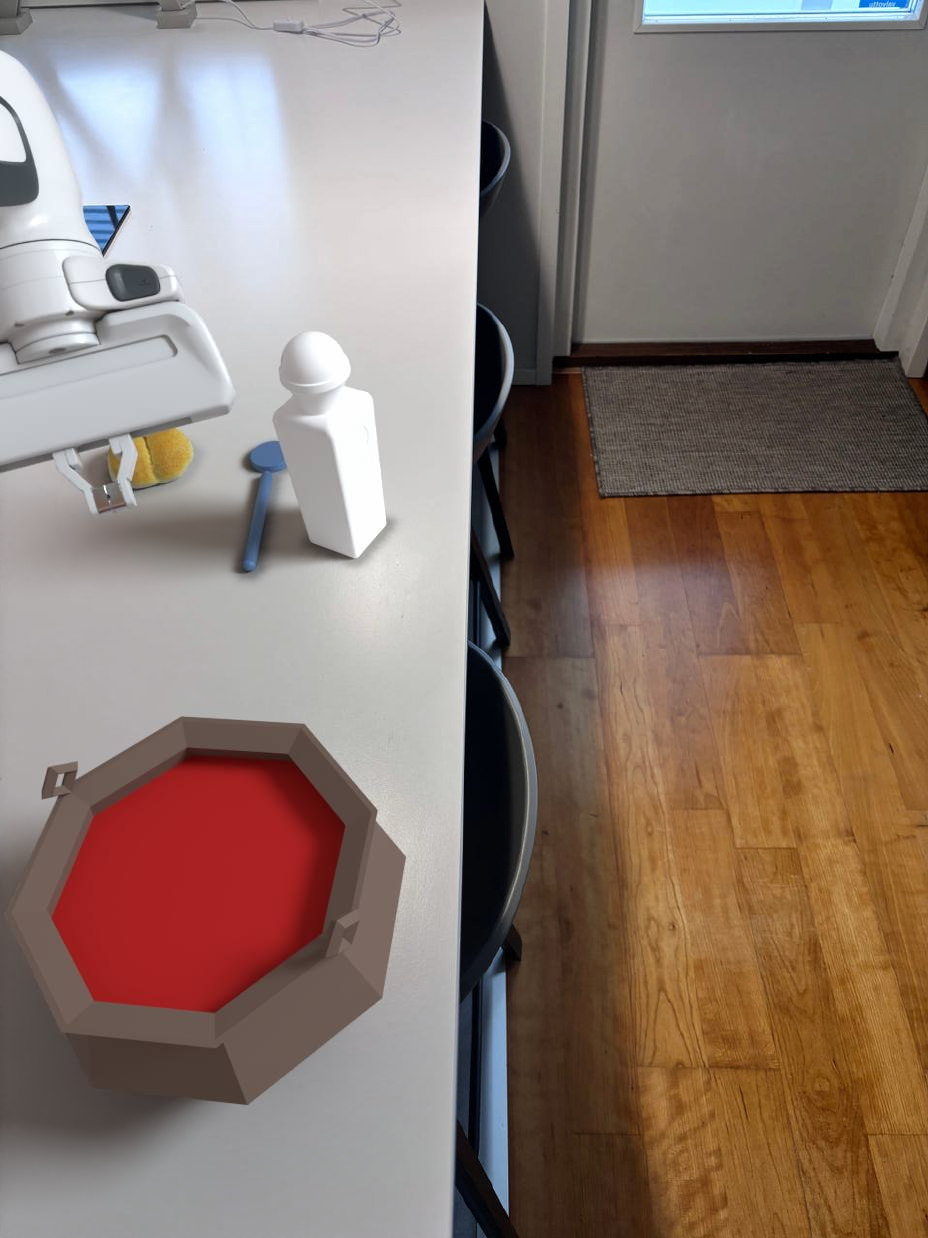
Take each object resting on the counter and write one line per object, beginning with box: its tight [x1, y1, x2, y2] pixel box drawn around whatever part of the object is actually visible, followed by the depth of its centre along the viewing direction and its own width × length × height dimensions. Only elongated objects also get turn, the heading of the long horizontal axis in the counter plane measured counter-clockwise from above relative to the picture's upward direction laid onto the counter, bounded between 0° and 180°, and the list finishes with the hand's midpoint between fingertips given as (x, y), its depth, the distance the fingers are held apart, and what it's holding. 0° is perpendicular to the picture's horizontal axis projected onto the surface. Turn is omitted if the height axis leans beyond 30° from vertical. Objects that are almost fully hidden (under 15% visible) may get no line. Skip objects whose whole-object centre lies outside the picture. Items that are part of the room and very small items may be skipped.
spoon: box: [242, 440, 287, 572], centre depth 97 cm, size 19×4×1 cm, turn 1°
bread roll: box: [106, 428, 195, 489], centre depth 101 cm, size 8×9×4 cm
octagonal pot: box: [4, 716, 407, 1106], centre depth 60 cm, size 24×24×16 cm
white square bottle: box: [272, 330, 387, 559], centre depth 85 cm, size 6×6×22 cm
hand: (114, 511), depth 64 cm, fingers closed
